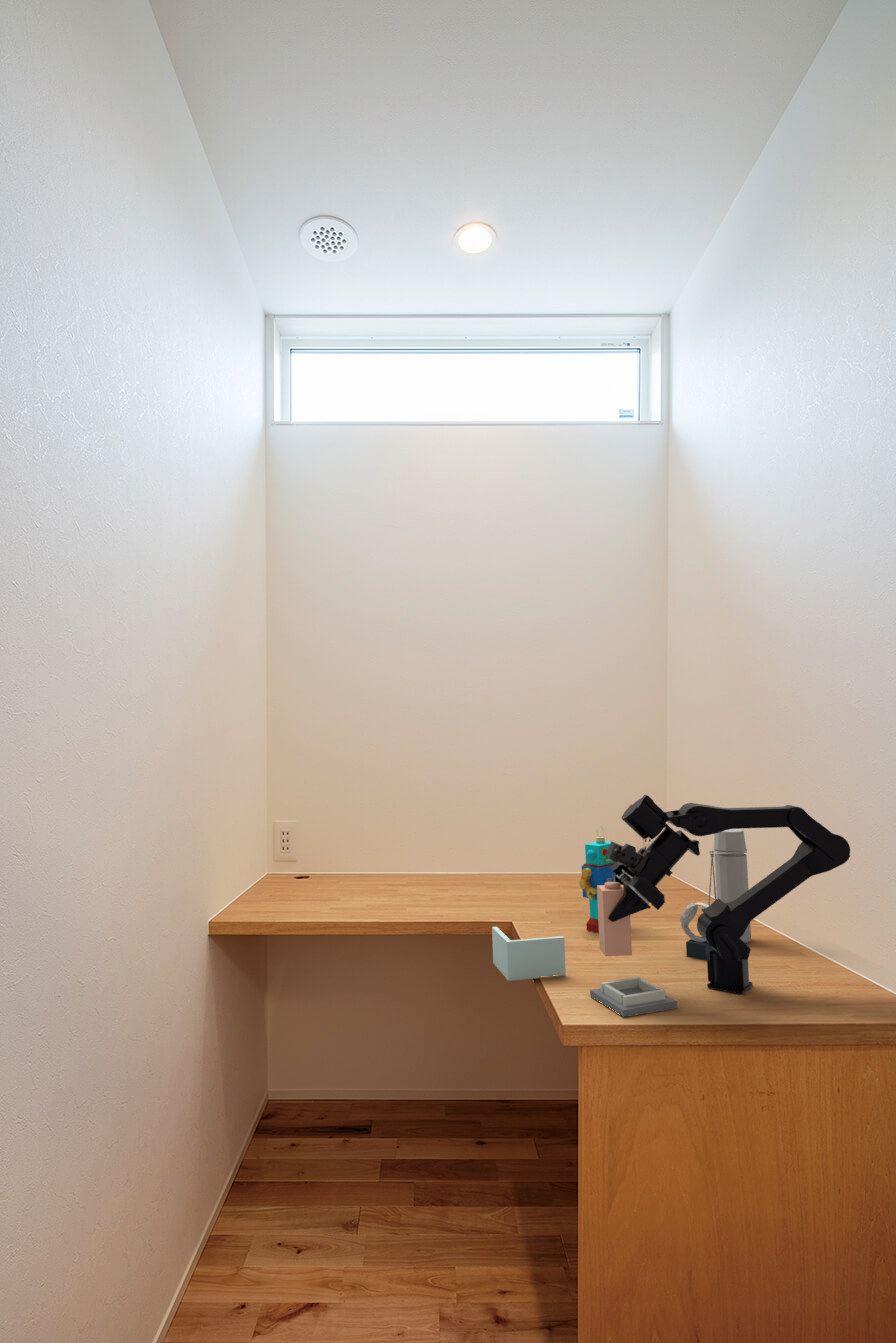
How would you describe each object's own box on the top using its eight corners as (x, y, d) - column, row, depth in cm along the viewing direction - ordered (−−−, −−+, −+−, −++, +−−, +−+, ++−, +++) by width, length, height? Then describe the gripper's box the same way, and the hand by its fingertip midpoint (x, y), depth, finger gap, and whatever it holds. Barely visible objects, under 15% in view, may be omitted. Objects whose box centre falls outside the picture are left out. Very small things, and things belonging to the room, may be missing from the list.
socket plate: (641, 988, 143) (640, 973, 143) (677, 1008, 132) (676, 992, 132) (590, 996, 139) (589, 981, 139) (623, 1017, 128) (622, 1001, 129)
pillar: (625, 947, 145) (622, 880, 146) (632, 955, 140) (628, 885, 142) (599, 948, 145) (596, 881, 146) (605, 956, 140) (602, 886, 141)
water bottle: (755, 938, 173) (749, 829, 175) (747, 947, 167) (741, 833, 169) (715, 933, 179) (709, 826, 181) (705, 941, 172) (700, 831, 174)
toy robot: (600, 936, 179) (596, 829, 181) (580, 931, 183) (576, 827, 185) (629, 927, 186) (624, 825, 188) (609, 922, 191) (604, 823, 193)
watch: (688, 949, 167) (686, 898, 168) (724, 955, 161) (721, 903, 162) (677, 955, 163) (675, 903, 163) (714, 961, 157) (711, 908, 158)
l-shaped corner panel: (565, 975, 151) (564, 937, 152) (508, 980, 149) (507, 942, 149) (546, 958, 163) (545, 922, 163) (493, 962, 161) (492, 926, 161)
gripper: (618, 821, 154) (567, 877, 153) (643, 833, 136) (585, 898, 134) (658, 859, 154) (607, 916, 153) (689, 876, 135) (631, 941, 134)
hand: (606, 916), depth 143 cm, fingers closed on pillar, 5 cm apart
